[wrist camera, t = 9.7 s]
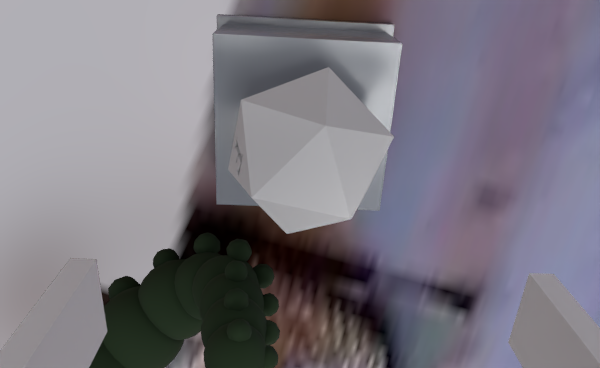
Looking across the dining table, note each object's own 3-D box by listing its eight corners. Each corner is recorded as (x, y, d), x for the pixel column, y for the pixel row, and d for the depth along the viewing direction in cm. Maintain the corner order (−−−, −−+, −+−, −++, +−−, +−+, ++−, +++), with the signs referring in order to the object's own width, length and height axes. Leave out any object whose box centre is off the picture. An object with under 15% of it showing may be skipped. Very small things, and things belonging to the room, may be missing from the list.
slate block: (221, 175, 37) (209, 210, 32) (218, 14, 32) (203, 24, 27) (372, 181, 38) (385, 217, 32) (392, 23, 33) (412, 35, 27)
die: (312, 27, 28) (194, 84, 21) (439, 102, 25) (349, 190, 19) (282, 132, 33) (182, 202, 27) (384, 201, 31) (301, 295, 25)
